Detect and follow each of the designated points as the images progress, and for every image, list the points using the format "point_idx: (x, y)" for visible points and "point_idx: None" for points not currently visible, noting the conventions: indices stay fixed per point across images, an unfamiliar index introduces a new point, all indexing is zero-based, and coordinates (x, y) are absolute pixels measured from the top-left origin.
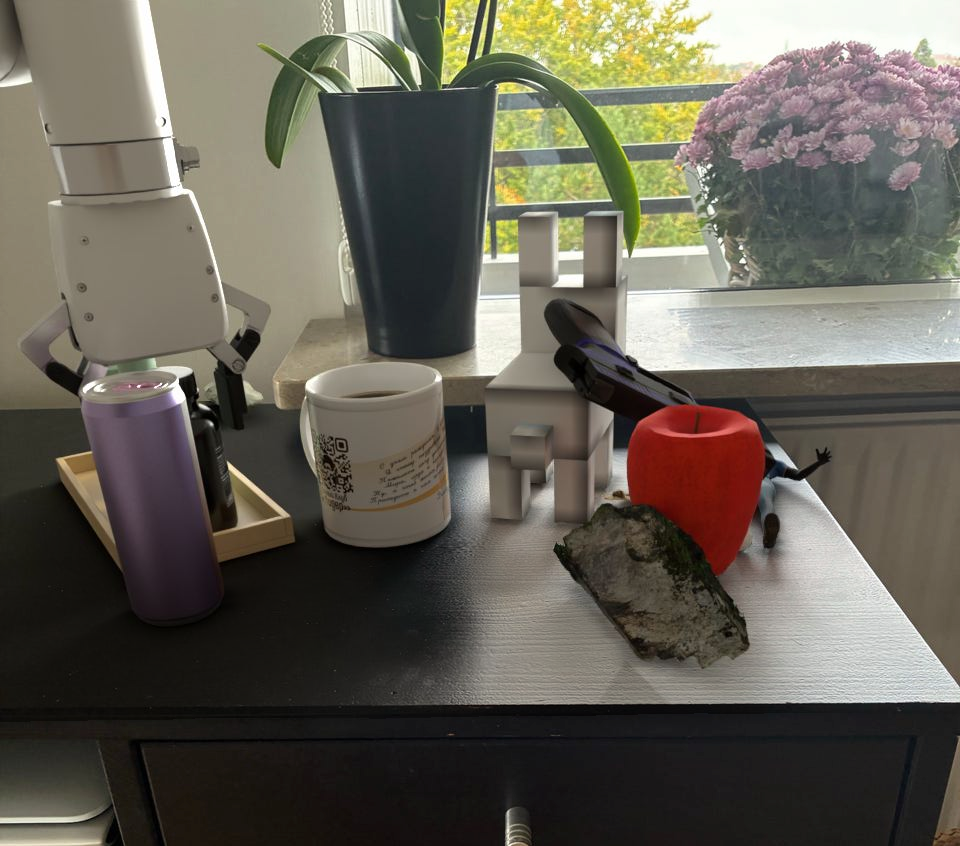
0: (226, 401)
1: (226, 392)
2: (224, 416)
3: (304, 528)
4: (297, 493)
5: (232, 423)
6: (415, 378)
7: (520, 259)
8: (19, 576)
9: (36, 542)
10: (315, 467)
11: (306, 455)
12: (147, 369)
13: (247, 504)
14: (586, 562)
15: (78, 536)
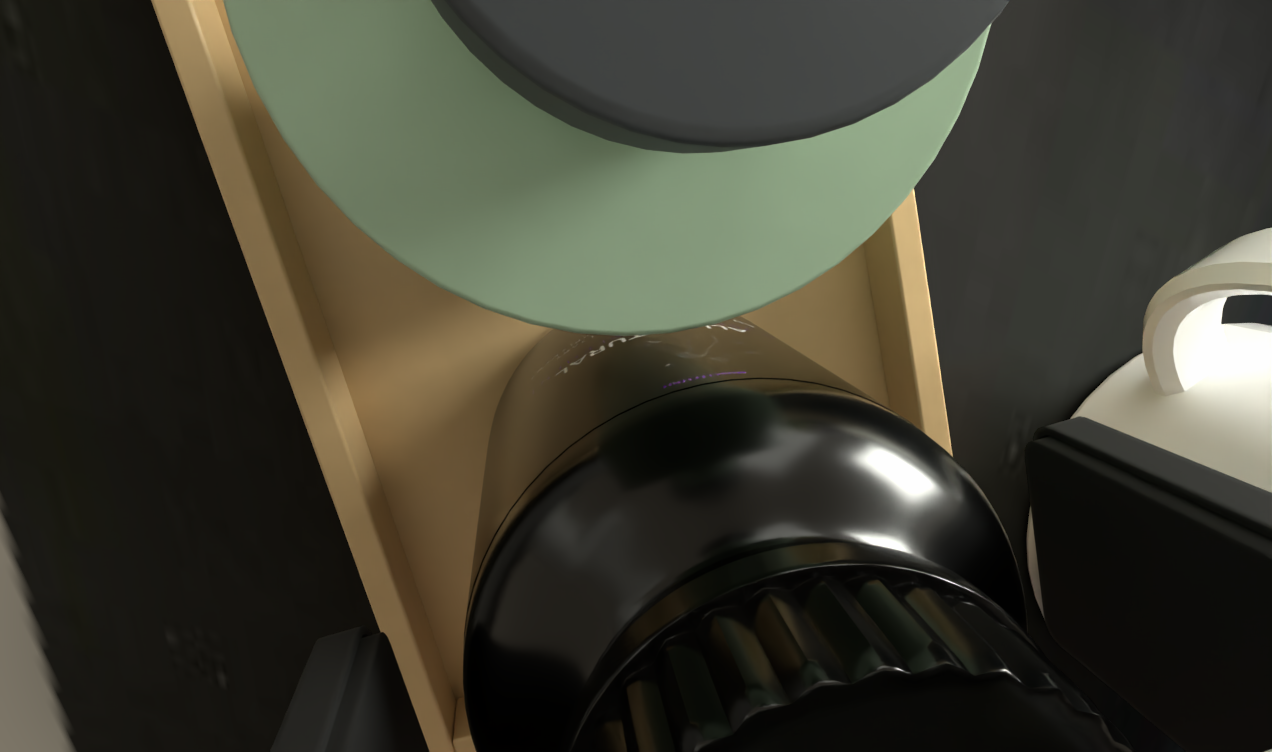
0: (1148, 660)
1: (1206, 735)
2: (1055, 515)
3: (975, 467)
4: (1031, 140)
5: (1065, 634)
6: None
7: None
8: (37, 531)
9: (26, 232)
10: (1179, 312)
11: (1197, 289)
12: (806, 705)
13: (852, 253)
14: None
15: (201, 237)
